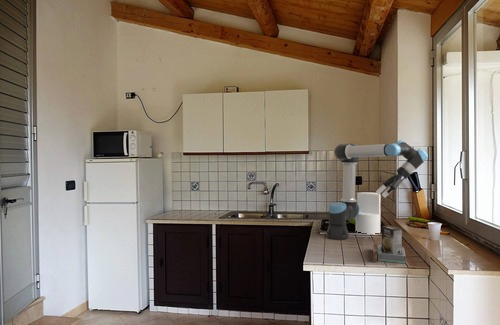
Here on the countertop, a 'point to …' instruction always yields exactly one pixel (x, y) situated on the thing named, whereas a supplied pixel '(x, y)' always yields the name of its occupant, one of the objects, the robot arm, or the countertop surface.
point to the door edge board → (375, 250)
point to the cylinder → (368, 213)
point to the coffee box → (391, 240)
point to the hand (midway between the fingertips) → (380, 194)
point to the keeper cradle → (391, 256)
